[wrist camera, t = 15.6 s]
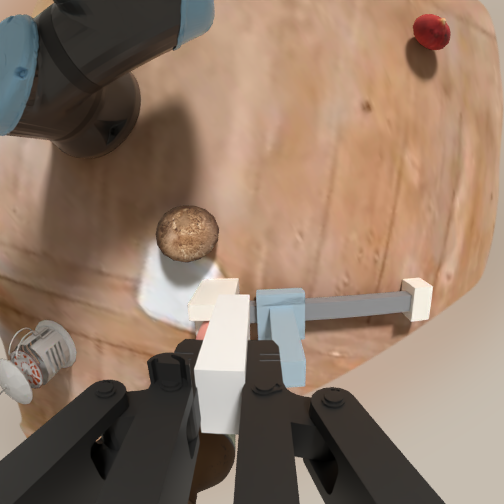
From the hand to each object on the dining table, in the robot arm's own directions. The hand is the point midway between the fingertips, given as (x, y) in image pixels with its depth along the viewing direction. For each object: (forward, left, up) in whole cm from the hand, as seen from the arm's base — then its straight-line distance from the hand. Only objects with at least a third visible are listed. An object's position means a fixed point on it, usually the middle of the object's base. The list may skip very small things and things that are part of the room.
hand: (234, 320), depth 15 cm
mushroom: (-8, +1, -28) cm, 29 cm away
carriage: (+4, -10, -26) cm, 28 cm away
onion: (+28, +30, -28) cm, 50 cm away
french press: (-36, -17, -28) cm, 49 cm away
